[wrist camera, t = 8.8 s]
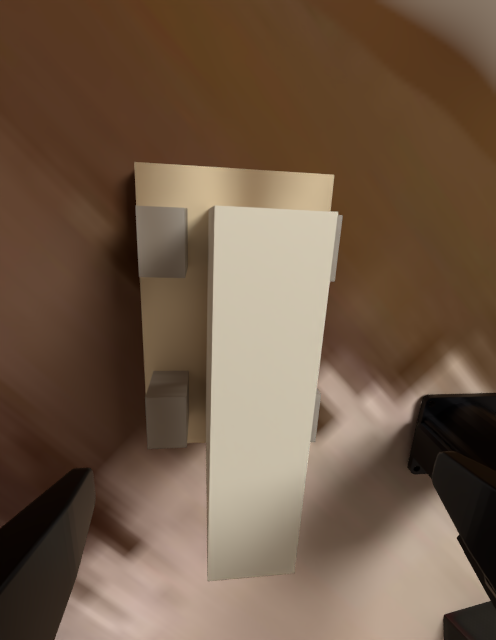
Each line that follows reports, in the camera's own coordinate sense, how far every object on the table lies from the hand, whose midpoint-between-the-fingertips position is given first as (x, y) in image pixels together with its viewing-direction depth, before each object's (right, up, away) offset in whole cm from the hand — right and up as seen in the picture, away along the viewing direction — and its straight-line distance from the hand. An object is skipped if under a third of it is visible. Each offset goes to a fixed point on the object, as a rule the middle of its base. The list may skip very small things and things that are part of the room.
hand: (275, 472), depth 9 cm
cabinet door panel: (-2, +4, +11) cm, 11 cm away
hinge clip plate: (-2, +4, +12) cm, 13 cm away
